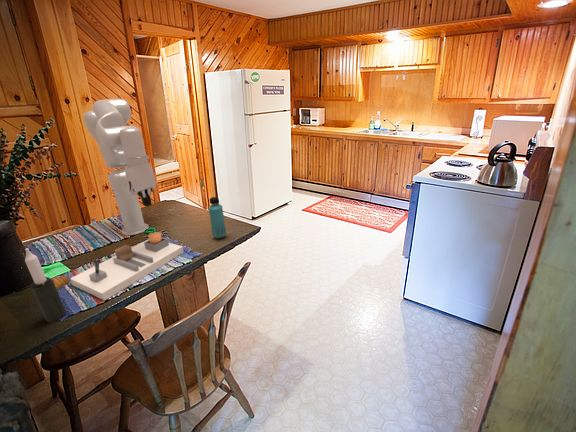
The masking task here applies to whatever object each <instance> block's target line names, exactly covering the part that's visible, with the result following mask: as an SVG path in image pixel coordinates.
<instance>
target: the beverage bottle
mask: <svg viewBox="0 0 576 432" xmlns="http://www.w3.org/2000/svg"><path fill="white" fill-rule="evenodd" d="M209 204H210V206H208V213H209V219H210V220H209V221H210V224H211V225H210V226H211V234H212V236H213V237H214V238H215V239H216V238H217V239H218V238H219V239H220V238H223V237H225V236H226V234H227V228H226V222H225V216H224V215H225V214H224V211H223V210H224V209H223V205H221V204H220V200H219V197H217V196H213V197H210V198H209Z"/></svg>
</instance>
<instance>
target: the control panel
mask: <svg viewBox="0 0 576 432" xmlns="http://www.w3.org/2000/svg"><path fill="white" fill-rule="evenodd" d="M131 249H132V253H133V256H134V257H133V258H131V259H129V260H127V261H123V260H121V259H118V258H117V257H116V255H114V256H112V257H110V258H108V259H107V260H106V259H105V260H104V261H102V262H100V263H99V273H98V274H96V273H95V265H94V266H93V267H90V268H88V269H86V270H84V271H82V272H80V273H79V274H75V275H74V276H72V277H71V278H70V279H69V281H70V282H71V285H72V286H73V287H75V288H78V289H80V290H81V291H83V292H86V293H88V294H90V295H92V296H94V297H96V298H98V299H100V300H102V301H104V302H105V301H106V300H108V299H110V298H111V297H113V296H115V295H116V294H118V293H120V292H122V291H123V290H125V289H126V288H127V287H129V286H131V285H133V284H134V283H136V282H138V281H139V280H140V279H142V278H144V277H146V276H148V275H149V274H151V273H153V272H154V271H156V270H158V269H159V268H161V267H162V266H164V265H166V264H167V263H169V262H171V261H172V260H174V259H175V257H176V258H177V257H179V256H180V254H181V255H182V254H184V247H183V246H182V245H179V244H175V243H171V242H169V240H168V238H166V237H162V242H160V243H158V244H156V245H153V244H150V241H149V238H148V239H147V240H145V241H143V242H140V243H138V244H136V245H134V246H133V247H132V246H131ZM178 255H179V256H178ZM173 258H174V259H173ZM170 260H171V261H170Z"/></svg>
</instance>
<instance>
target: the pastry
mask: <svg viewBox="0 0 576 432" xmlns="http://www.w3.org/2000/svg"><path fill="white" fill-rule="evenodd" d="M49 278H50V279H51V280H53V282H54V284H55V286H56V289H57V291H58V290H59V289H61V288H63V287H64V286H66V285H67V284H68V283H69V282H70V279H69V277H68V276H67V275H60V276H55V277H54V276H53V277H49Z"/></svg>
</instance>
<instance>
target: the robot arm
mask: <svg viewBox="0 0 576 432" xmlns="http://www.w3.org/2000/svg"><path fill="white" fill-rule="evenodd" d="M131 116H132V110H131V106H130V104H129V102H127V100H125V99H124V98H106V99H99V100H97V101H95V102H94V103H93V104H92V110H87V111H86V112H84V113H83V116H82V119H83V122H84V125H85V127H86V129H87V131H88V132H89V134H90V135H91V136H92V138H93V139H94V140H95V141H96V143H97V145H98V147H99V151H100V153H101V156H102V158H103V161H104V163H105V164H106V166H107V167H108V169H116V170H113V171H111V172H110V173H108V175H107V180H108V183H109V185H110V187H111V189H112V192H113V194H114V197H115V200H116V204H117V207H118V210H119V214H120V218H121V221H122V222H120V224H121V225H123V228H122V229H121V234H122V235H125V236H134V235H139V234H141V233H144V232H146V231H147V230H148V229H149V224H147V223H145V221H144V216H143V213H142V209H141V204H140V201H139V197H140V199H141V202H142V205H143V206H144V207H150V206H152V199H151V198H152V197H151V196H152V191H153V190H155V189H157V182H156V177H155V172H154V170H153V168H152V166H151V163H150V162H149V160H150V156H149V155H147V152H146V148H145V142H144V138H143V134H142V131H141V129H140V128H138V127H137V126H135V125H127V124H128V122H129V120H130V119H131ZM120 168H121V169H120ZM146 229H147V230H146ZM145 230H146V231H145Z"/></svg>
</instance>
